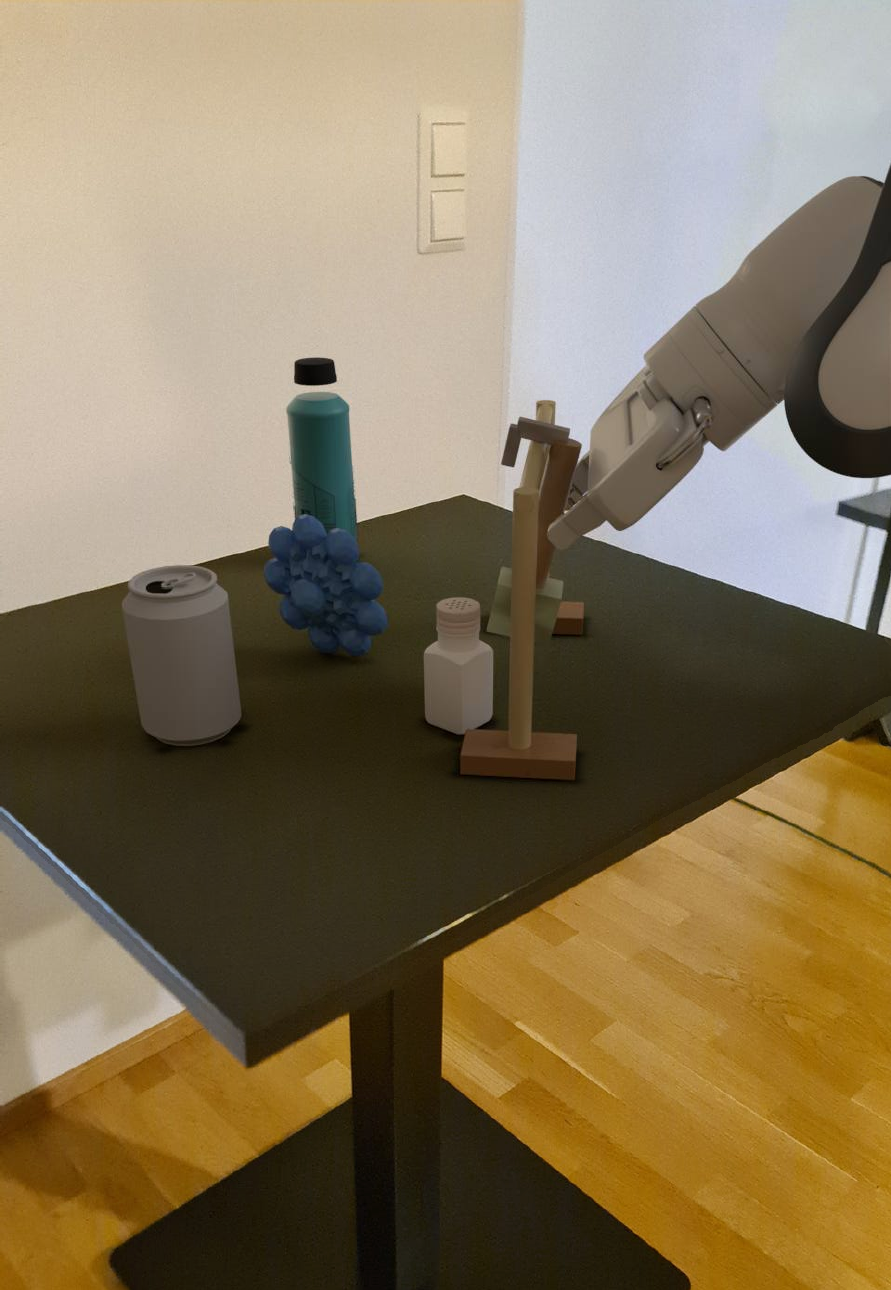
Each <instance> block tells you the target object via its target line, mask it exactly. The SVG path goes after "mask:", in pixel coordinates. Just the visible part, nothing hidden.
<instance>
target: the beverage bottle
mask: <svg viewBox="0 0 891 1290" xmlns="http://www.w3.org/2000/svg"><path fill="white" fill-rule="evenodd" d="M293 367H294V369H293V370H294V372H293V383H294V384H296V385H299V386H308V387H309V386H310V387H311V386H312V387H315V386H316V387H319V386H328V385H332V384H335V383H337V382H338V376H337V373H336V372H337V371H336V364H335V361H334V359H332V358H328V357H318V356H317V357H303V358H299V359H297V360H295V361H294V366H293ZM350 409H351V408H350V405H349V404H348V402H347V401H346V400H345V399H344V398H343V397H341V396H340V395H339V394H337V393H336V392H330V391H309V392H304V393H299V394H297V395H295V397H293V398H292V400H290V402H289V403H288V404H287V406H286V408H285V413H286V419H287V427H288V428H287V429H288V440H289V443H288V445H289V456H288V457H289V458H288V460H289V461H288V462H289V464H290V466H291V478H292V483H291V485H292V494H293V496H292V498H293V502H292V507H293V508H292V509H293V511H294V513H293V517H294V519H293V520H294V521H295V520H296V518H297V517H298V516H300V515H304V514H307V515H310V516H313V517H315V518H316V519H317V520H318V521H319V522H321V523H322V524H323V527H324V529H325V531H326V534H328V532H329V531H330V530H333V529H336V528H339V529H343V530H346V531H347V532H348V533H349V534H350V535H352V536H353V537H354V538H355V540H356V542H357V541H358V539H359V537H358V536H359V534H358V533H359V531H358V514H357V505H358V504H357V503H356V502H357V498H356V497H355V493H356V487H355V480H356V478H354V470H355V469H354V468H355V467H354V466H353V458H352V457H353V456H352V441H351V425H350V422H351V421H350ZM294 521H293V522H294Z"/></svg>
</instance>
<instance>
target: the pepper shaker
mask: <svg viewBox="0 0 891 1290" xmlns="http://www.w3.org/2000/svg"><path fill="white" fill-rule="evenodd" d="M435 612H436V627H435V628H436V631H437V640H436V641H434V642H433V643H431V644H430V645H429V646H427V647H426V649H425V650H424V651H423V682H424V687H423V688H424V717H425V720H426V723H428V724H430V725H433V726H435V727H437V728H441V729H443V730H446V731H448V732H451V733H452V734H456V735H465V733H466V730H467V729H477V728H479V727H481V726H483V725H484V724H486V723H488V722H489V721H490V720H491V719H492V717H493V714H494V712H493V711H494V710H493V709H494V703H493V702H494V649H493V648H492V647H491V646H490V645H489V644H488V643H486V642H484V641H483V640H481V639H480V631H481V605H480V602H479V601H477V600H475V599H473V598H468V597H462V596H458V597H457V596H456V597H448V598H444V599H440V601H438V602H437V603H436V609H435Z"/></svg>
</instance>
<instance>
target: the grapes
mask: <svg viewBox="0 0 891 1290" xmlns="http://www.w3.org/2000/svg"><path fill="white" fill-rule="evenodd" d="M294 520H295V519H294ZM267 543H268V548H269V551H270V553H271V554H272V556H273V557H272V558H269V559H268V561H267V562H266V563H265V564H264V566H263V577H264V580H265V582H266V584H267V586H268V587H269V588H270V589H271V590H272V591H274V592H275V593H276V594H279V595H283V597H282V598H281V600H280V601H279V609H278V611H279V614H280V617H281V618H282V620H283V622H284V623H285V624H286V625H288V627H290V628H292V629H294V630H298V631H302V630H304V629H307V637H308V640H309V642H310V644H311V645H312V647H314V648H315V649H316V650H317V651H318V652H320V653H322V654H326V655H330V654H333V653H336V652H337V651H338V650H339V648H341V649H342V650H343V651H344V652H345V653H347V654H348V655H349V656H353V657H362V656H365V655H366V654H367V653H368V651H369V650H370V648H371V641H372V639H371V636H372V637H377V636H378V635H382V634H383V633H384V632H385V630H386V629H387V628H388V616H387V613H386V611H385V609H384V607H383V606H382V605H381V604H380V603H379V602H377V601H376V599H378V598H379V597H380V595H381V594H382V593H383V591H384V581H383V579H382V576H381V573H380V571H379V570H378V569H376V568H375V567H374V565H372V564H371V563H368V562H366V561H365V562H364V561H359V562H357V561H358V560H359V558H360V548H359V546H358V543H357V541H356V540H355V538H354V537H353V536H352V535H350V534H349V533H348V532H347V531H346V530H343V529H339V528H336V529H333V530H330V531H329V532H328V534H326V531H325V529H324V527H323V524H322V523H321V522H319V521H318V520H317V519H316V518H315V517H313V516H310V515H307V514H304V515H300V516H298V517H297V518H296V520H295V521H293V523H292V526H291V528H289V527H286V526H282V525H280V526H277V527H274V528H273V529H272V530H271V532H270V533H269V535H268V541H267Z"/></svg>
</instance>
